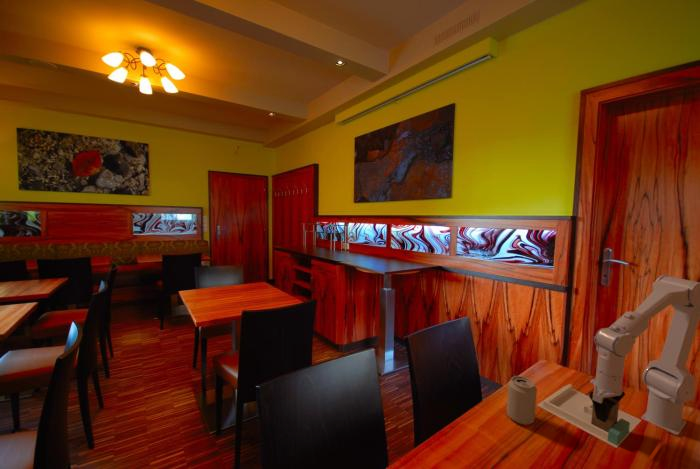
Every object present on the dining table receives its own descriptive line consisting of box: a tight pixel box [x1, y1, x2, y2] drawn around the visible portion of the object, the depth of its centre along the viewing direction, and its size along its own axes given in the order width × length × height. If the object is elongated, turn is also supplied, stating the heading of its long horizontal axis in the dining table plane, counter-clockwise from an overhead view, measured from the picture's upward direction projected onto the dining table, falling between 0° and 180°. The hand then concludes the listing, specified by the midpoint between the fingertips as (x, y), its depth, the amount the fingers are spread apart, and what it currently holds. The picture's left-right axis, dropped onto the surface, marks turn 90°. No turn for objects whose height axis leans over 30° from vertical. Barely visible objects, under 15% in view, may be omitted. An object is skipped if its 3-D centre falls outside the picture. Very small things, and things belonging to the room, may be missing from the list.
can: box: [506, 375, 538, 426], centre depth 94 cm, size 8×8×12 cm
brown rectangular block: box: [591, 397, 620, 432], centre depth 89 cm, size 4×4×8 cm
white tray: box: [536, 383, 642, 449], centre depth 97 cm, size 20×20×4 cm
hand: (604, 416), depth 90 cm, fingers closed on brown rectangular block, 4 cm apart
